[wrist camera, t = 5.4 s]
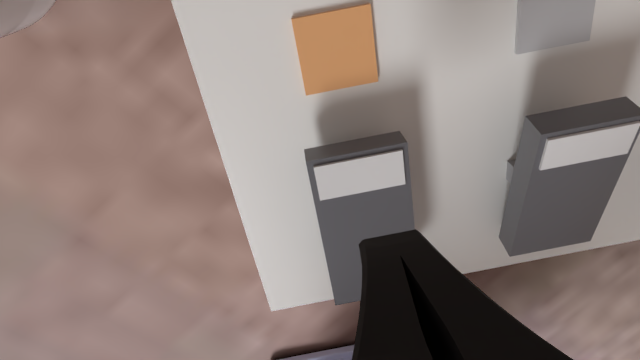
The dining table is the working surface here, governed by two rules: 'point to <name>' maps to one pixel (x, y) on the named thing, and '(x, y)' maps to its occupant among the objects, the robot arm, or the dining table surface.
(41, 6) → the drinking glass
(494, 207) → the switch panel
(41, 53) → the dining table surface
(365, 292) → the robot arm
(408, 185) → the block
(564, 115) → the block
